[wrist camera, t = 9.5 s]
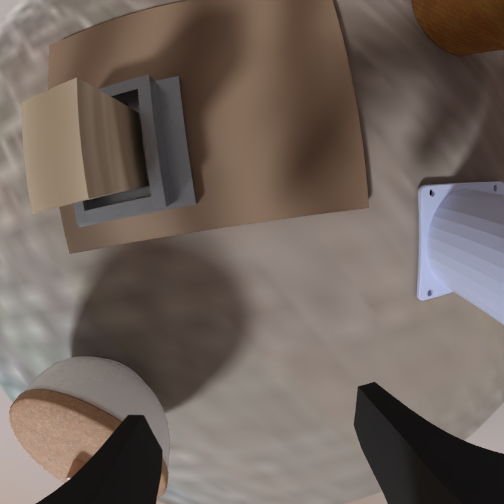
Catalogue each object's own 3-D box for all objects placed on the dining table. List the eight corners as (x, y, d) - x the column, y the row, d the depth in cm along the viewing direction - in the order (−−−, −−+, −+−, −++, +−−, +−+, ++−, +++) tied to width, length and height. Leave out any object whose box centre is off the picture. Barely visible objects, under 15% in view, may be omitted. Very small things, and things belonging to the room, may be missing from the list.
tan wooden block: (138, 112, 14) (76, 77, 7) (148, 186, 15) (88, 198, 8) (98, 124, 14) (21, 102, 7) (108, 195, 15) (32, 214, 8)
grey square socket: (180, 79, 14) (171, 63, 11) (197, 203, 16) (191, 209, 13) (68, 111, 14) (45, 104, 11) (83, 225, 16) (61, 235, 13)
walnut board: (326, -2, 13) (330, -7, 13) (363, 206, 17) (368, 207, 16) (55, 49, 13) (49, 45, 12) (75, 250, 17) (69, 253, 16)
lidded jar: (39, 324, 18) (-31, 396, 9) (169, 333, 19) (133, 444, 10) (78, 424, 21) (44, 498, 12) (189, 438, 21) (179, 531, 12)
